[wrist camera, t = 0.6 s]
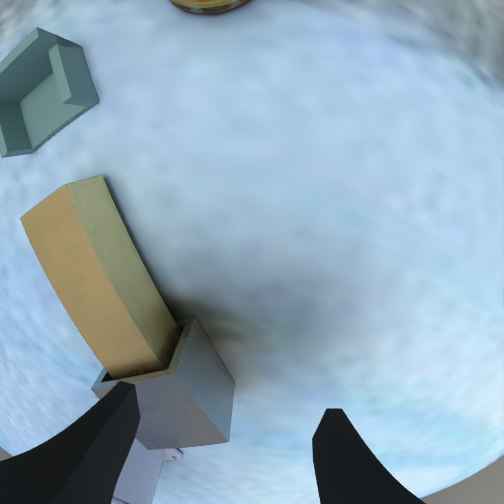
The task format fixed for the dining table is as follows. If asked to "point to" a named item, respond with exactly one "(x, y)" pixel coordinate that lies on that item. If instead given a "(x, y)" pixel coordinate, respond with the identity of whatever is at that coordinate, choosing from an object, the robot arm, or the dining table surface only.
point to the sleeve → (182, 395)
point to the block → (102, 279)
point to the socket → (41, 91)
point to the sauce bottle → (207, 5)
